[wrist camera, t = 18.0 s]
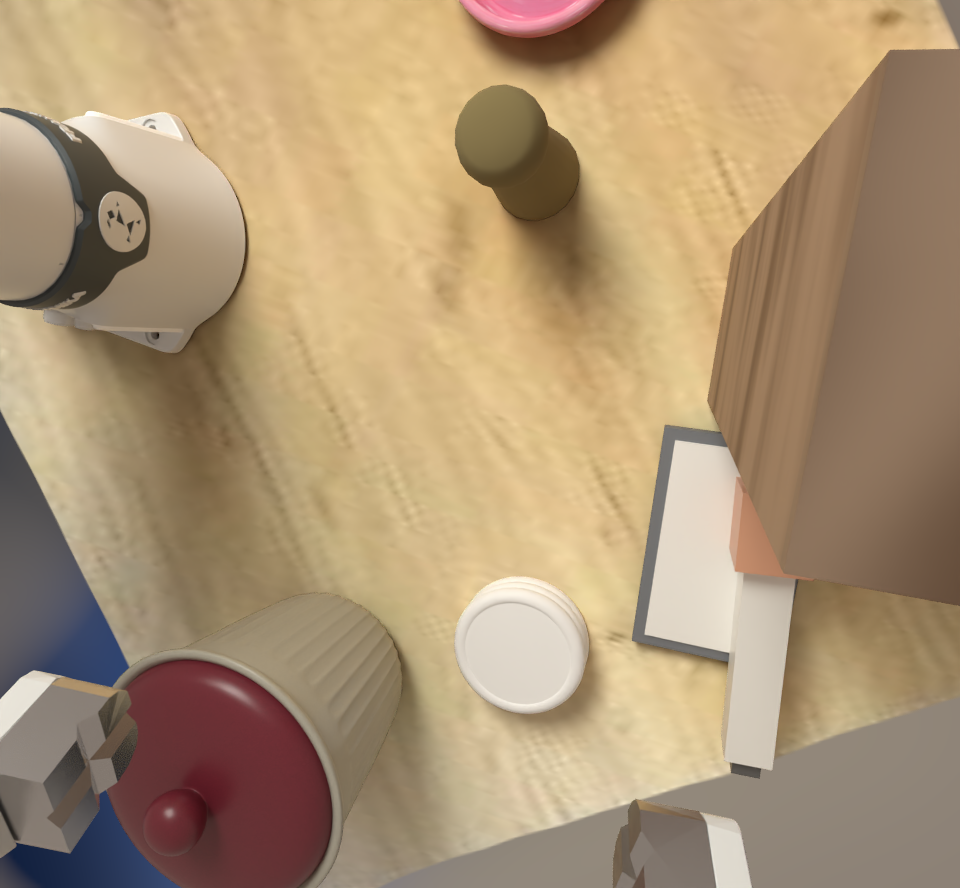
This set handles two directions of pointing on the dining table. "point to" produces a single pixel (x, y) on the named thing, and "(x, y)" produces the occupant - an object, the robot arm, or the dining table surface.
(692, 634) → the writing board
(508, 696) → the coaster
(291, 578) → the dining table surface
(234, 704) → the canister
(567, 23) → the saucer
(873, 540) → the walnut stand
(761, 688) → the marker
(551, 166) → the olive game pawn
